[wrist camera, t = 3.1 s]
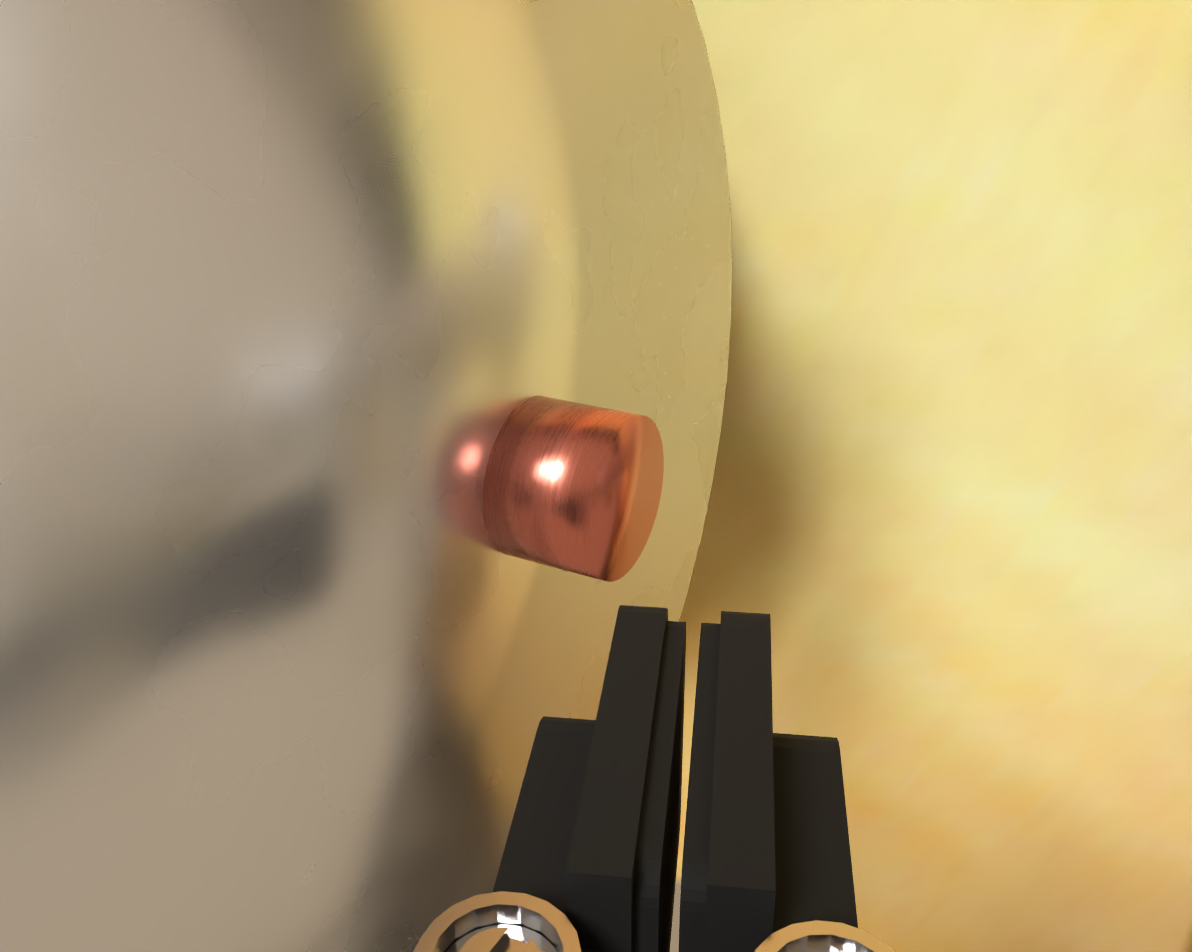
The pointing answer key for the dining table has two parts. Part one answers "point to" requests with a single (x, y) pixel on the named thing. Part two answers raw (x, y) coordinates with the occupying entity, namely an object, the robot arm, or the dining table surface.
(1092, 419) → the dining table surface
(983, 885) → the dining table surface
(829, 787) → the robot arm
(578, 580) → the cooker lid
